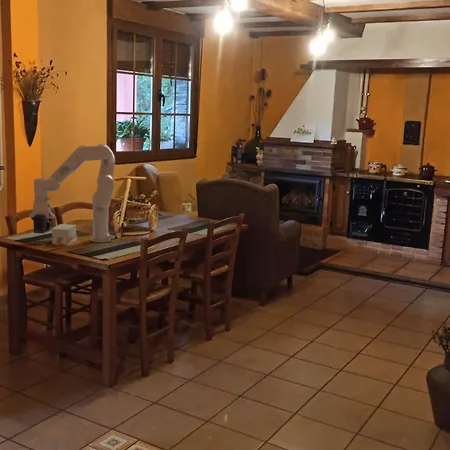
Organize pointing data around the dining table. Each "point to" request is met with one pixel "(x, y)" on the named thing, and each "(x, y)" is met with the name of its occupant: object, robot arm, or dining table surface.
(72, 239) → the tower base
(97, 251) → the dining table surface
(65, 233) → the tower top
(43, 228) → the small box
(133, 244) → the dining table surface
